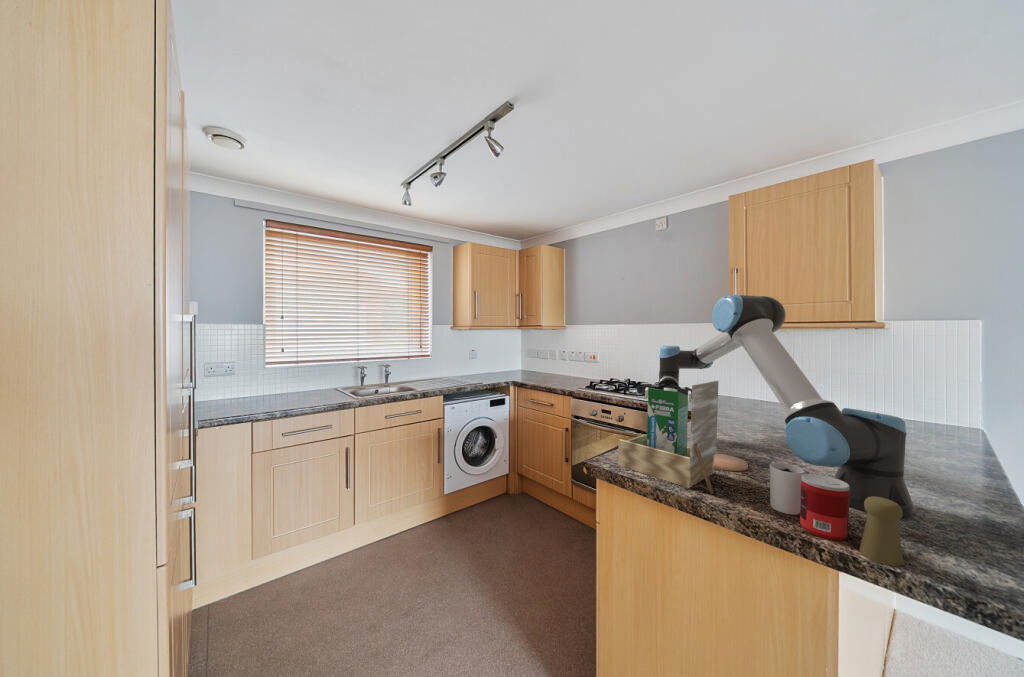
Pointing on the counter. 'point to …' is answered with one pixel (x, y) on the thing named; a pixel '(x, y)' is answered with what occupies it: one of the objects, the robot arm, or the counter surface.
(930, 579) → the counter surface
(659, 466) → the cold frame
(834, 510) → the canned food
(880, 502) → the cork
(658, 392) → the milk carton
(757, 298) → the robot arm
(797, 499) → the white cylindrical container
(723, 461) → the peach round coaster
